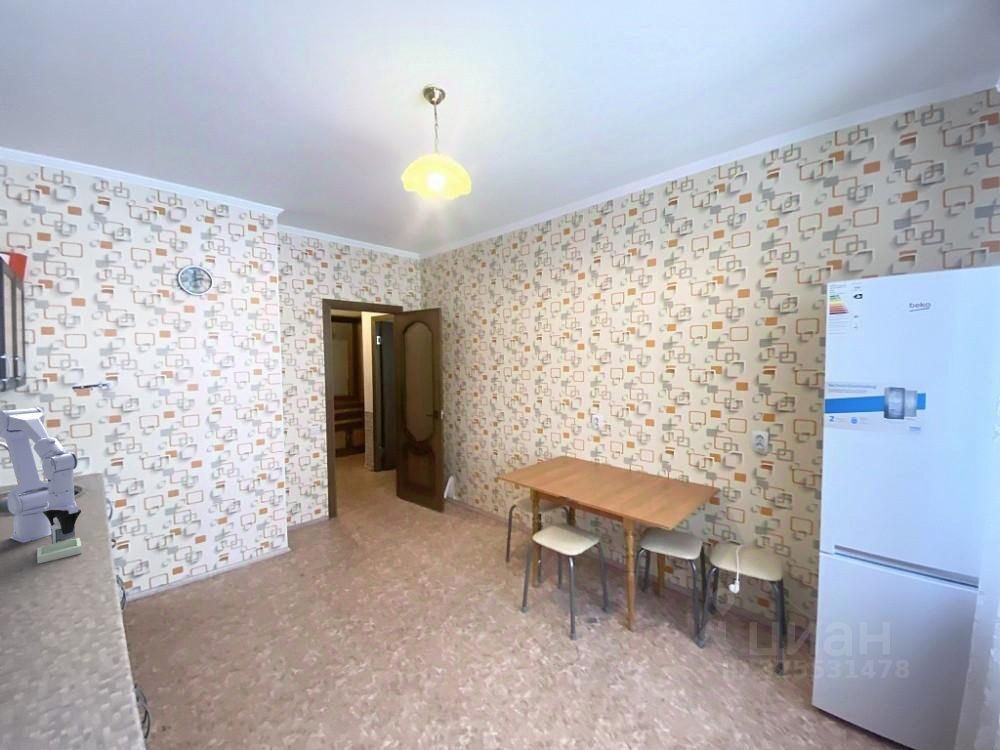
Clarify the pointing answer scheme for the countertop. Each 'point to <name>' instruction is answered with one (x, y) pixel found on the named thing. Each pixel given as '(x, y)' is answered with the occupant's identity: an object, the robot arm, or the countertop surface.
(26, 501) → the robot arm
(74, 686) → the countertop surface
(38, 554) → the tray
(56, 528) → the pill bottle
